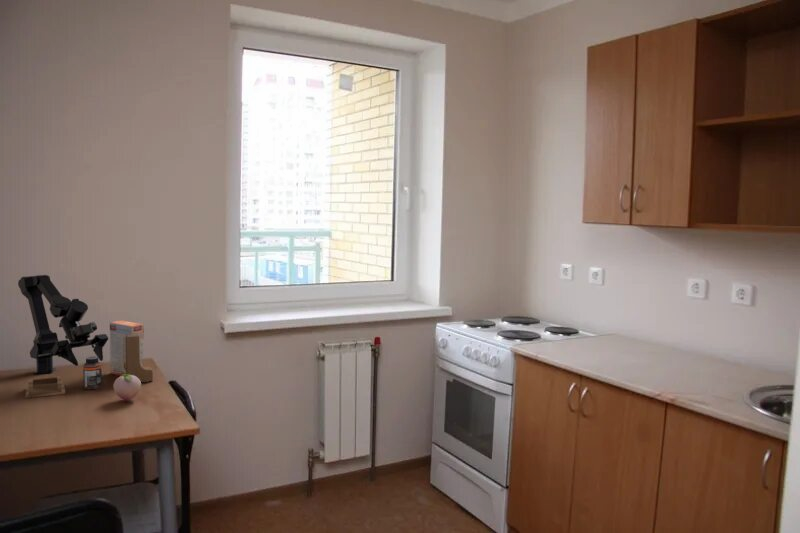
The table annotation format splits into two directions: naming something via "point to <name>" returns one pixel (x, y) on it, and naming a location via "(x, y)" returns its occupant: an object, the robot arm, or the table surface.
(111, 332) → the cracker box
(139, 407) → the table surface
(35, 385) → the socket
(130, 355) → the wooden block
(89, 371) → the supplement bottle
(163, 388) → the table surface
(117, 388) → the decorative fruit
